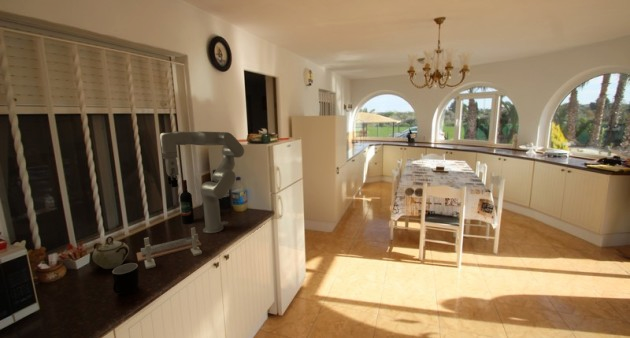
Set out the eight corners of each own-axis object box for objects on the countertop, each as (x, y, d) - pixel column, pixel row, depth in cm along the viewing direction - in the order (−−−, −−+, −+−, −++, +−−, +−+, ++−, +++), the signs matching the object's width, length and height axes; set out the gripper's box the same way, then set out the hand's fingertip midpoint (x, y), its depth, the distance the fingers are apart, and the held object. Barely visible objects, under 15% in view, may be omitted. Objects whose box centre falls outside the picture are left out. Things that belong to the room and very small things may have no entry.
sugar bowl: (141, 259, 149) (138, 231, 147) (116, 274, 135) (112, 244, 132) (110, 256, 153) (106, 229, 151) (82, 270, 139) (77, 241, 136)
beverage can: (202, 217, 211) (201, 202, 209) (204, 214, 217) (202, 199, 215) (212, 217, 212) (211, 201, 210) (214, 214, 219) (212, 198, 217)
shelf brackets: (198, 248, 161) (196, 226, 158) (202, 253, 154) (200, 230, 152) (144, 262, 146) (141, 238, 144) (146, 269, 139) (143, 243, 137)
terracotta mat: (197, 239, 173) (197, 238, 172) (201, 245, 164) (201, 244, 164) (136, 254, 155) (136, 253, 155) (138, 261, 147) (138, 260, 147)
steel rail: (194, 241, 169) (194, 235, 168) (196, 242, 166) (195, 237, 166) (141, 254, 153) (140, 248, 153) (142, 256, 151) (141, 250, 150)
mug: (124, 284, 127) (121, 263, 125) (145, 284, 127) (142, 262, 125) (104, 301, 115) (101, 278, 113) (127, 301, 115) (124, 278, 113)
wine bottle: (196, 221, 204) (192, 179, 199) (187, 224, 197) (183, 181, 192) (188, 219, 207) (184, 178, 202) (179, 223, 200) (175, 181, 195)
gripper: (180, 156, 155) (183, 187, 158) (174, 153, 169) (177, 181, 172) (165, 157, 151) (168, 189, 154) (160, 154, 165) (163, 183, 168)
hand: (173, 185), depth 163 cm, fingers open, 9 cm apart
